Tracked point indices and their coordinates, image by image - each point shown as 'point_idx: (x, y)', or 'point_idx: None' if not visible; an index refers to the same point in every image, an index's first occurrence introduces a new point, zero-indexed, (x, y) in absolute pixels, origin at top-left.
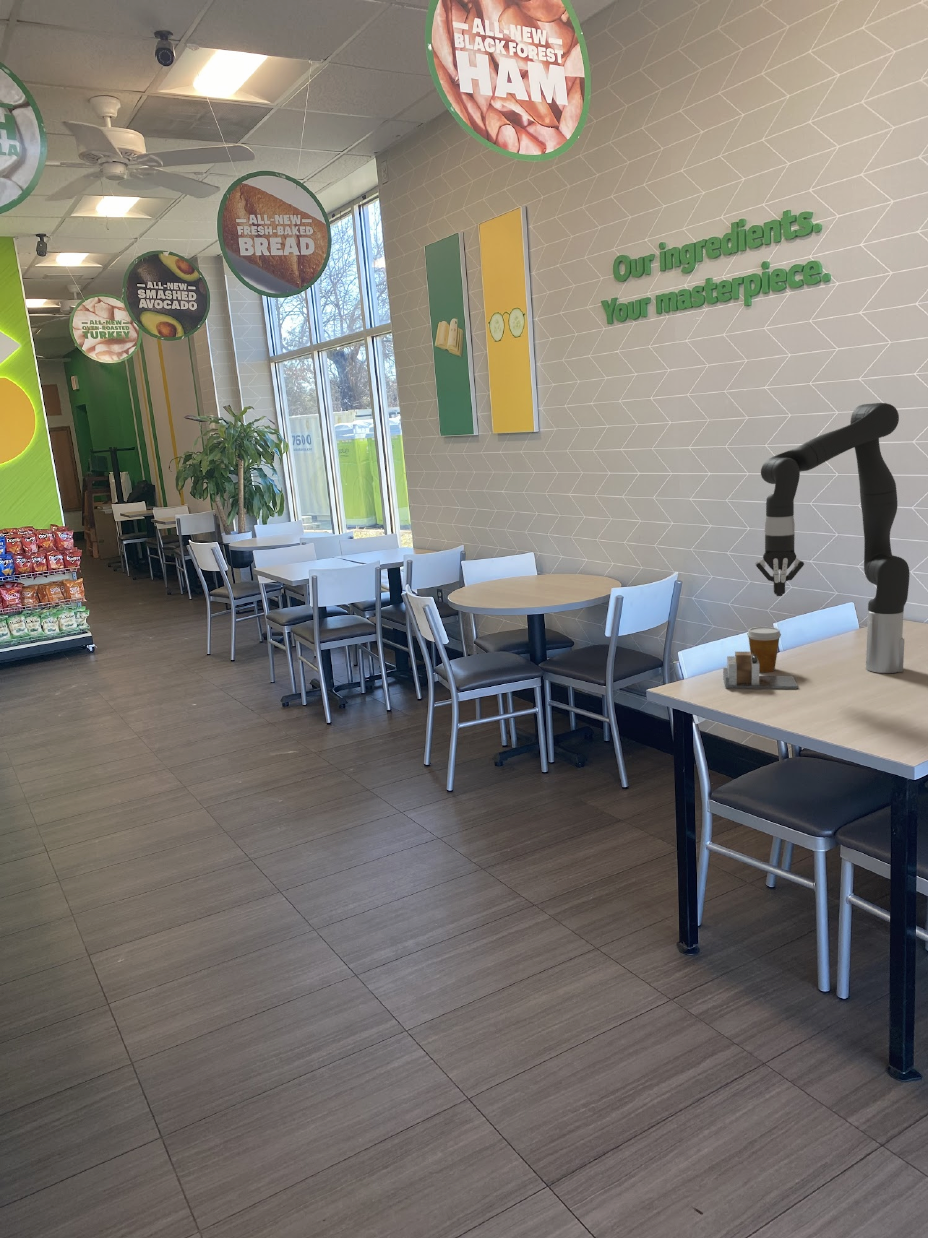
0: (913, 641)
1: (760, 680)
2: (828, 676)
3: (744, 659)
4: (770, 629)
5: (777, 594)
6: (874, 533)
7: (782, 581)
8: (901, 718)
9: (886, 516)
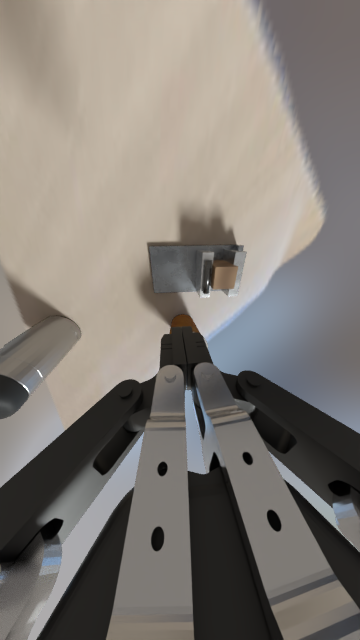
0: (58, 402)
1: (192, 272)
2: (116, 303)
3: (223, 265)
4: None
5: (189, 327)
6: None
7: (174, 370)
8: None
9: None
